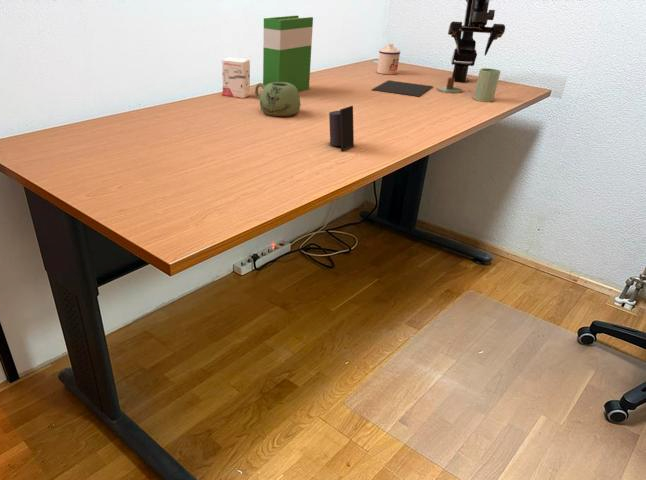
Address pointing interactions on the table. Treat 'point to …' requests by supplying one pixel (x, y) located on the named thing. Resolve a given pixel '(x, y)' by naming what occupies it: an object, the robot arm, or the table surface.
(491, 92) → the canister
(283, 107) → the mug
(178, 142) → the table surface
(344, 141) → the speaker
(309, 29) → the hardback book
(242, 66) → the ink box
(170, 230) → the table surface
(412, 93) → the mat
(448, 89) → the lid
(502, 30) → the robot arm
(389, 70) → the teacup with lid
